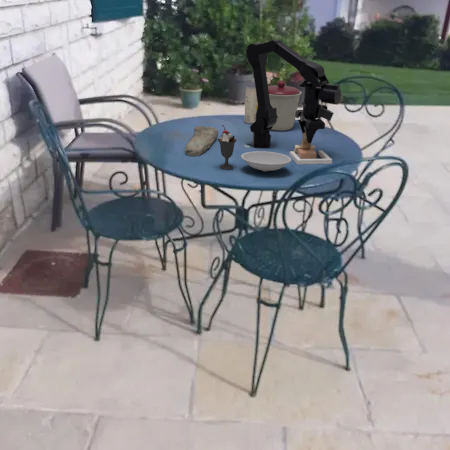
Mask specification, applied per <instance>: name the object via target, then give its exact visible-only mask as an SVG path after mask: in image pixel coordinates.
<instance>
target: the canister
mask: <svg viewBox="0 0 450 450" xmlns="http://www.w3.org/2000/svg"><path fill="white" fill-rule="evenodd" d="M268 91H269V98H270V104H271V106H272V107H273V108H276V109H277V116H278V118H277V121H276V123H275V125H273V127H272V129H271V130H270V131H278V132H279V131H280V132H283V131H290V130H291V129H292V128H293V127H294V125H295V121H296V119H297V118H296V117H295V112H296V111H297V110H298V106H299V101H300V96H301V95H302V91H301V90H299V88H296V87H294V86H291V85H290V86H289V85H286V82H285V81H284V80H283V79H281V80H278V81H277V84H276V85H268Z"/></svg>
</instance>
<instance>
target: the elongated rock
mask: <svg viewBox="0 0 450 450" xmlns="http://www.w3.org/2000/svg"><path fill="white" fill-rule="evenodd" d="M193 132H194V133H193V135H192V138H190V139H189V141H188V142H187V143H186V145H185V146H184V147H185V148H184V149H185V150H184V153H185V154H186V155H187V156H189V157H199V156H201V155H202V154H204V153H205V152H206V151H207V150H209V149H210V148H211V146H213V144H214V142H215V141H216V140H217V139H218V138H217V137H218V134H219V132H218V129H217V128H216V127H213V126H203V125H201V126H198V125H196V126H194V128H193Z"/></svg>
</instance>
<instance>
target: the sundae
mask: <svg viewBox="0 0 450 450" xmlns="http://www.w3.org/2000/svg"><path fill="white" fill-rule="evenodd" d="M221 127H223V128H224V130H223V131H222V134H221V135H220V137H219V138H217V141H218V142H219V146H220V153H221V156H222V157H224V164H221V165H220V166H219V168H220V169H222V170H227V171H229V170H232V169H234V166H233V165H230V164H229V163H230V162H229V159H230V158H231V157H232V156H233V153H234V148H235V144H236V142H237V138H235V137H236V136H235V135H233V134H232V133H231V132H230V131H228V130H227V129H226V127H225V125H224V124H222V125H221Z"/></svg>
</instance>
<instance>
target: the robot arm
mask: <svg viewBox="0 0 450 450" xmlns="http://www.w3.org/2000/svg"><path fill="white" fill-rule="evenodd" d="M270 53H275V54H276V56H278V57H280V58H281V59H283V60H284V61H285V62H286V63H288V64H289V65H291V66H292V67H294V68H295V69H296V70H297V71H298V72H299V73H298V74H299V75H300V76H301V78H303V79H304V80H303V82H301V84H299V87H300V88H304V93H303V101H301V105H302V106H303V107H302V109H297V111H296V112H295V117H296V118H295V119H297V122H298V126H299V128H300V131H301V134H302V135H303V133H306V138H307V142H308V144H310V143H311V142H313V140H314V137H315V135H316V132H317V131H319V130H325V129H326V123H325V122H324V120H322V119H326V120H327V121H328V122H330V121H331V120H332V118H333V115H334V114H335V113H334V112H333V111H332V110H330V109H328V106H327V105H325V103H326V104H331V105H339V103H340V101H341V98H342V91H341V88H340V84H331V83H330V81H329V79H328V78H327V76H326V73H325V68H324V67H323V65H322V64H319V63H317V62H315V61H312V60H309V59H306V58H305V57H303V56H302V55H300V54H299V53H297V52H296V51H295V50H294V49H292V48H291V47H289V46H288V45H286V43H284V42H283V40H280V39H279V38H278V39H271V40H270V41H267V42H253V43H249V44H248V45H247V47H246V49H245V56H246V58H247V62H248V64H249V65H250V67H251V68H252V75H253V78H254V81H255V88H256V95H257V102H258V108H257V112H256V121H255V122H254V123H253V124H250V126H249V129H250V132H251V133H252V139H251V143H250V144H251V145H252V147H253V148H255V149H256V148H257V149H258V148H260V149H261V148H262V149H263V148H266V149H267V148H271V146H270V145H271V139H272V135H271V131H272V130H271V129H272V127H273V125H275V123H276V121H277V118H278V116H277V109H276V108H273V107H272V106H271V104H270V98H269V91H268V86H269V84H268V77H267V70H266V64H267V62H268V54H270ZM320 102H321V103H323V104H320ZM311 144H312V143H311Z"/></svg>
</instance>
